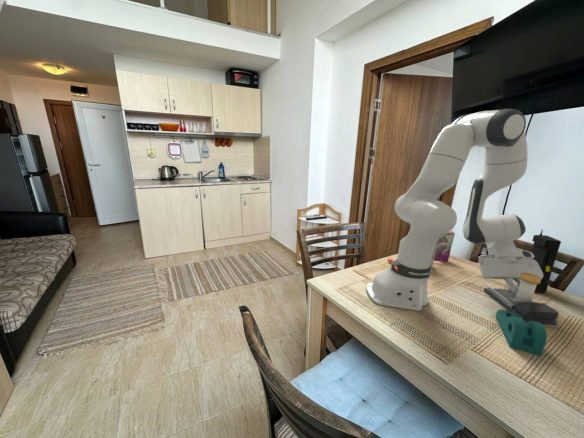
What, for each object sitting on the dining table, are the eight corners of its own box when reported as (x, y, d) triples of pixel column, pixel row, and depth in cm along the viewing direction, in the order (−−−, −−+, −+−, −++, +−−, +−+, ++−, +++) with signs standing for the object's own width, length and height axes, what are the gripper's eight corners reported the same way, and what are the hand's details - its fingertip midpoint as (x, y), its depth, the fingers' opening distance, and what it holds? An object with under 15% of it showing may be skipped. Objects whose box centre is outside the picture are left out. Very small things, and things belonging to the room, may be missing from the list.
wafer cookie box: (424, 260, 126) (430, 230, 122) (422, 256, 131) (427, 227, 126) (448, 262, 124) (455, 232, 119) (445, 258, 128) (451, 229, 124)
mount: (483, 291, 98) (486, 281, 97) (508, 292, 98) (512, 282, 96) (524, 323, 80) (528, 311, 79) (556, 324, 79) (560, 312, 78)
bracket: (540, 356, 67) (549, 333, 65) (509, 347, 70) (516, 325, 68) (517, 318, 82) (524, 298, 80) (492, 312, 85) (498, 293, 83)
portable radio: (549, 295, 97) (569, 236, 90) (531, 293, 98) (550, 235, 91) (534, 284, 104) (552, 230, 97) (518, 283, 105) (535, 228, 99)
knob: (507, 300, 89) (516, 272, 86) (522, 301, 89) (531, 272, 86) (520, 309, 84) (529, 279, 81) (535, 310, 84) (545, 280, 81)
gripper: (482, 251, 92) (495, 288, 86) (537, 253, 91) (554, 290, 85) (471, 257, 98) (483, 291, 91) (523, 259, 97) (539, 294, 90)
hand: (518, 291), depth 88 cm, fingers closed, pressing on knob
